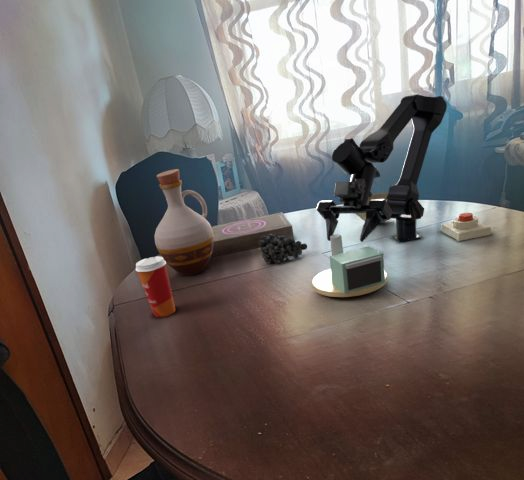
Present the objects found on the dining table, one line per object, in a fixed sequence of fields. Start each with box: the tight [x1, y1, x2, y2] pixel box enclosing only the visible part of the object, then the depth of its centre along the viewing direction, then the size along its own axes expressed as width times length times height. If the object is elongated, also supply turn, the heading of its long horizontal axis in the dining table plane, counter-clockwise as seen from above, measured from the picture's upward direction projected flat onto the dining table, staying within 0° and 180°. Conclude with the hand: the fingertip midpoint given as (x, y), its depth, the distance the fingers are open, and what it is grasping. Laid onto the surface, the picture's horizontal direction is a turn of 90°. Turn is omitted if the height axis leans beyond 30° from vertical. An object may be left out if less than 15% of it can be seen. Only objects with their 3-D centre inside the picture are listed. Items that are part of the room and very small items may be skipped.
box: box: [441, 215, 492, 242], centre depth 132 cm, size 11×9×4 cm
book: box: [210, 212, 295, 258], centre depth 165 cm, size 30×22×5 cm
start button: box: [458, 212, 474, 222], centre depth 131 cm, size 4×4×2 cm
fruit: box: [256, 234, 308, 265], centre depth 138 cm, size 9×8×15 cm
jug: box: [154, 168, 213, 276], centre depth 140 cm, size 20×18×30 cm
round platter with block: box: [311, 233, 388, 298], centre depth 110 cm, size 18×19×10 cm
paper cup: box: [135, 255, 176, 318], centre depth 116 cm, size 8×8×14 cm
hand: (344, 240), depth 117 cm, fingers open, 9 cm apart
